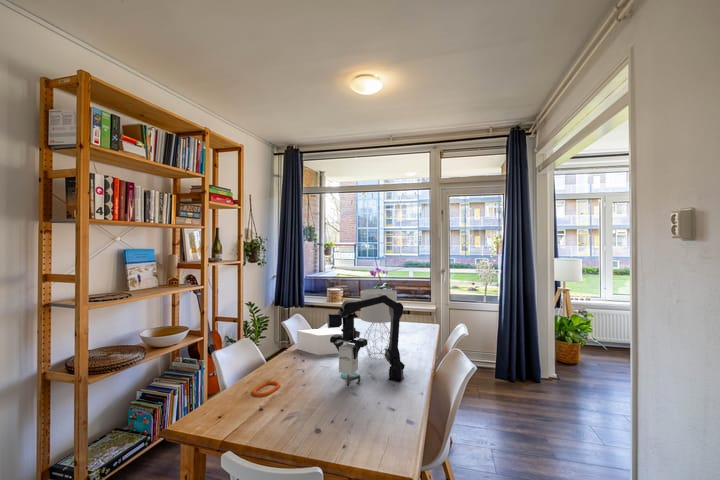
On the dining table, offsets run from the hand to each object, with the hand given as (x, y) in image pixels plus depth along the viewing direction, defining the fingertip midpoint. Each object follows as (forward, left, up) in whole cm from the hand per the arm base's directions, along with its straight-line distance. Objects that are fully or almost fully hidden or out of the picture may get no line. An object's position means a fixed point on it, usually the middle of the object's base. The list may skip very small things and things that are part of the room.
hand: (348, 358), depth 160 cm
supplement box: (0, 0, -7) cm, 7 cm away
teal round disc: (+5, -9, -13) cm, 16 cm away
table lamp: (+5, -44, -13) cm, 46 cm away
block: (+41, -35, -13) cm, 56 cm away
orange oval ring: (+31, +24, -13) cm, 42 cm away
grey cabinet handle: (-1, -1, -13) cm, 13 cm away
